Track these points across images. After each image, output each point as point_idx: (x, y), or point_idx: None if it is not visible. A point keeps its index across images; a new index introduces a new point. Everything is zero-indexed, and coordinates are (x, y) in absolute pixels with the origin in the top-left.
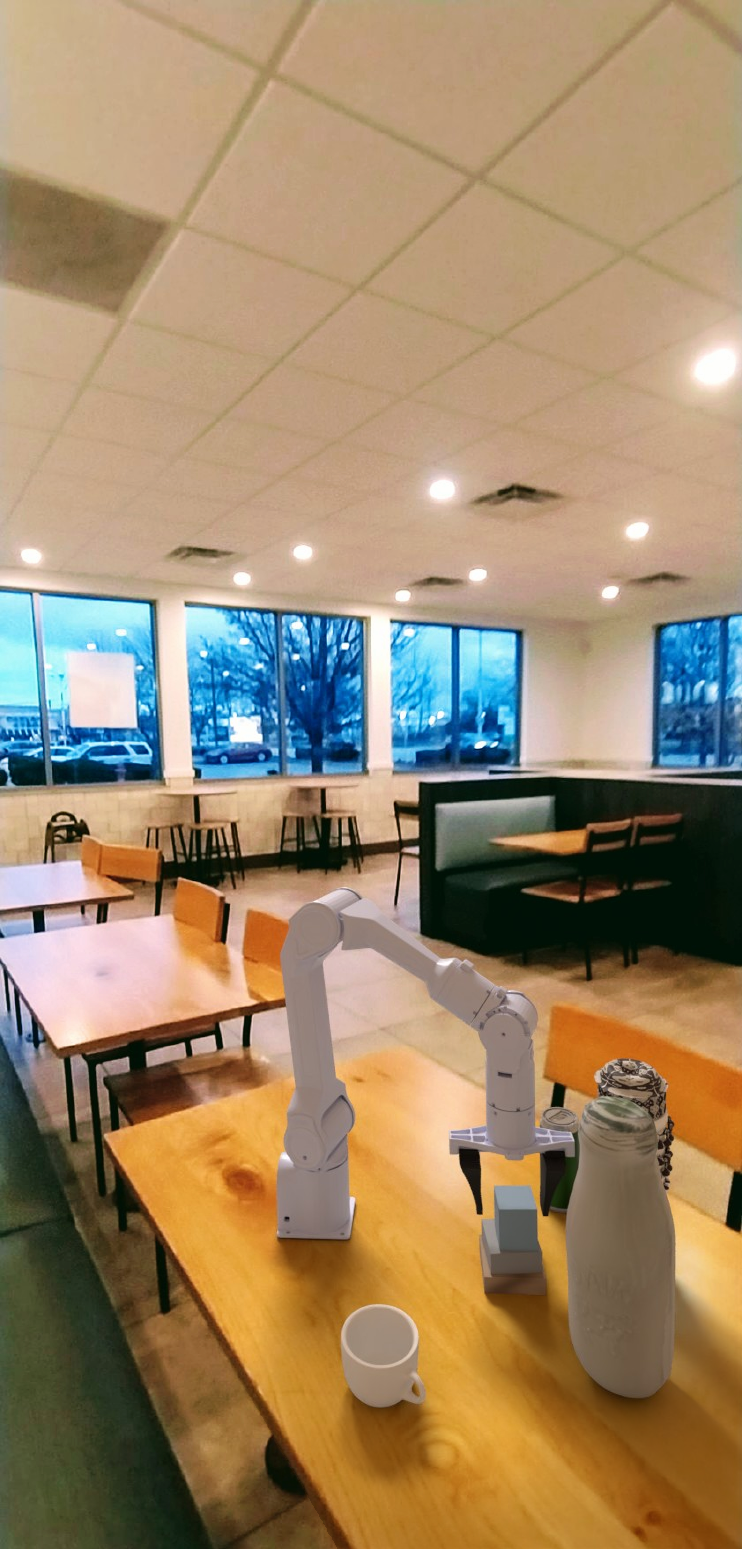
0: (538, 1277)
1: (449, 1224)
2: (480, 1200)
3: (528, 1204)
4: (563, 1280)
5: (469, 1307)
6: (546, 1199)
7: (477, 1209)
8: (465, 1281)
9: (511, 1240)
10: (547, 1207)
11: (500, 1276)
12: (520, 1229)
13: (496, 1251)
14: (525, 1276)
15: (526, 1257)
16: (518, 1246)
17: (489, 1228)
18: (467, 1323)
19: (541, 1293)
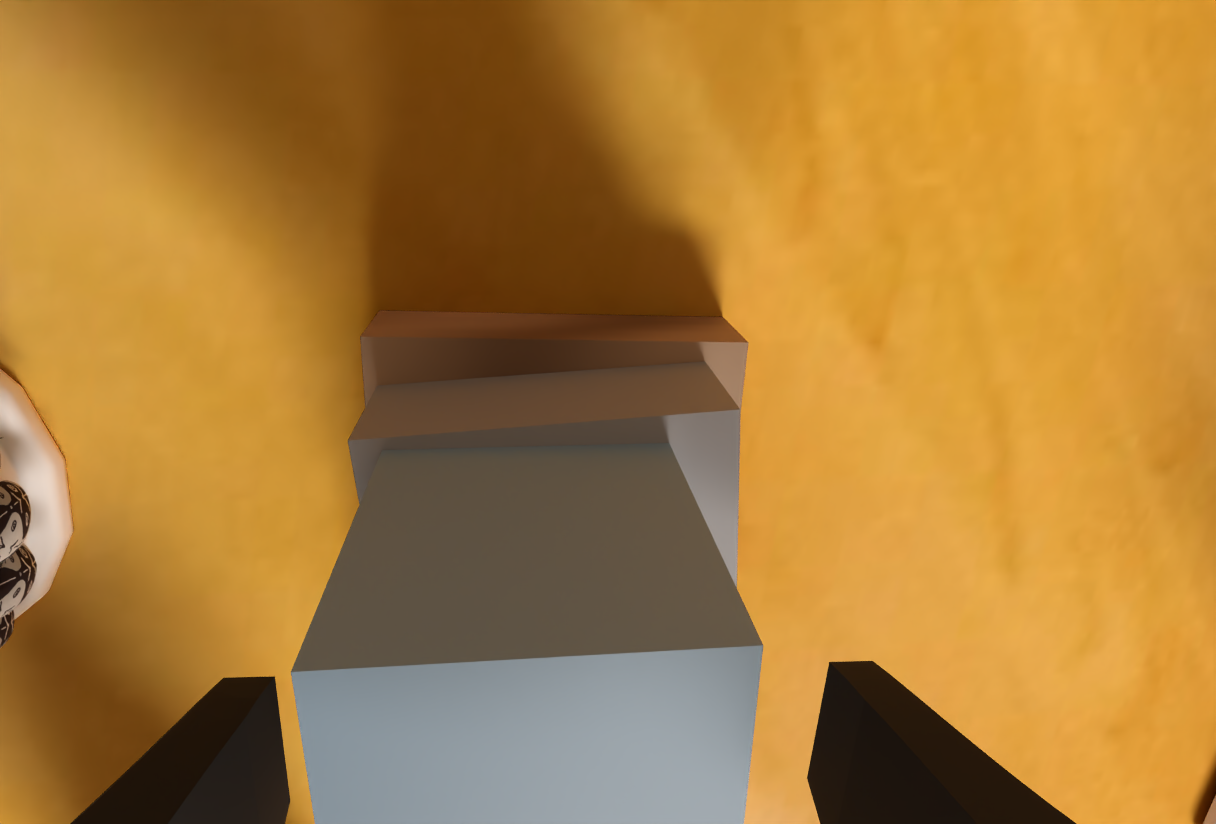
0: (408, 345)
1: (808, 741)
2: (933, 754)
3: (395, 739)
4: (267, 416)
5: (822, 215)
6: (146, 816)
7: (902, 689)
8: (806, 394)
9: (587, 480)
10: (182, 739)
11: (648, 349)
12: (511, 528)
13: (692, 434)
14: (491, 352)
15: (474, 414)
16: (529, 460)
17: None
18: (858, 97)
19: (405, 311)
